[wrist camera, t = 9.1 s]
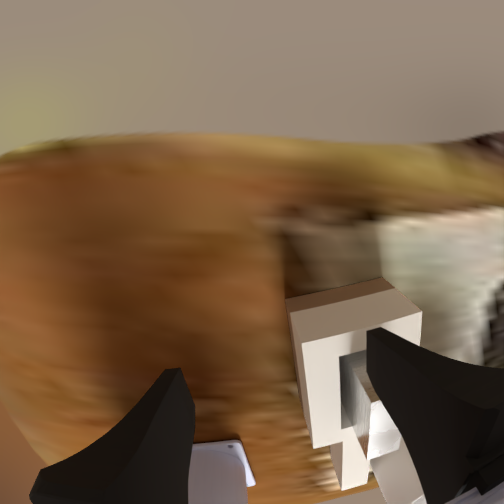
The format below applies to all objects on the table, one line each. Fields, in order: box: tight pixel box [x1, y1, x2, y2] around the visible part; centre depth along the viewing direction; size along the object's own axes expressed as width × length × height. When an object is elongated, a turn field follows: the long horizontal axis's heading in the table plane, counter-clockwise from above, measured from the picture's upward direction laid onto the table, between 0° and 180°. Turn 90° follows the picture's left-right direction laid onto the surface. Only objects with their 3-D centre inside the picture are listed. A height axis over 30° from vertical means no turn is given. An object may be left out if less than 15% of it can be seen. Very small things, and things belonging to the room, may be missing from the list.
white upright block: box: [339, 349, 401, 460], centre depth 17 cm, size 2×5×7 cm, turn 11°
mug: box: [370, 436, 427, 504], centre depth 21 cm, size 12×8×10 cm
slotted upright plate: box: [285, 277, 422, 491], centre depth 21 cm, size 7×18×6 cm, turn 10°
